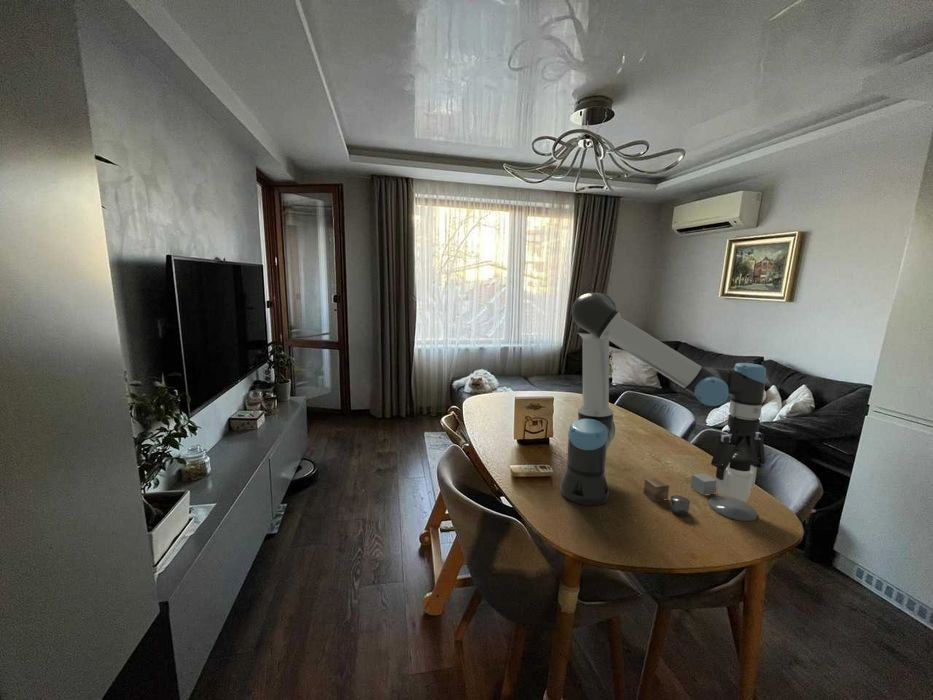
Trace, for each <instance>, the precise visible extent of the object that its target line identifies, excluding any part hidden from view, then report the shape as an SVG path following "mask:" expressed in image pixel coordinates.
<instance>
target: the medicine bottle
mask: <svg viewBox="0 0 933 700" xmlns="http://www.w3.org/2000/svg"><path fill="white" fill-rule="evenodd" d="M750 468H751V460H750V459H749V458H748V457H747V455H746V456H745V455H742V454H739V453H735V454H734V456H733V458H732V459H731V461H730V463H729V464H728V466H727V468H726V470H728V476H727V484H726V491H722V490H720V489H719V488H717V493H718V494H719V495H722V496H724V497H728V498H732V499H736V500H739V501H741V502H743V503H746V502H747V501H748V500H749V498H750V496H751V494H752V489H753V488H752V481H753V474H754V473H753V472H751V471H750Z"/></svg>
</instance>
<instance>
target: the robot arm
mask: <svg viewBox="0 0 933 700" xmlns="http://www.w3.org/2000/svg"><path fill="white" fill-rule="evenodd" d="M571 317H572V320H573V322H574V323H575V324H576V325H577V334H578V335H579V336H580V337H581V339H582V405H581V406H580V407H579V408H578V410H577V416H578V417H577V419H575V420H574V421H573V422H571V424H570V426H569V430H568V436H567V437H568V440H567V441H568V442H567V443H568V444H567V461H566V469H565V472H564V474H563V477H562V479H561V481H560V484H559V485H560V487H559V490H560V493H561V495H562V497H564V498H565V499H567V500H569V501H570V502H573V503H575V504H579V505H583V506H589V507H590V506H599V505H603V504H605V503H607V502H608V500H609V496H610V495H609V493H610V491H609V490H610V489H609V486H608V482H607V478H606V475H605V474H606V473H605V471H606V459H607V458H606V456H607V450H608V449H609V447H610V445H611V442H613V441H612V440H613V439H614V438H615V435H616V426H615V421H614V411H613V409H612V408H610V407H609V405H610V404H609V403H610V401H609V400H610V399H609V398H610V397H609V396H610V391H609V388H610V385H609V384H610V382H609V381H610V375H609V374H610V373H609V372H610V343H612V344H614V345H615V346H617V347H618V348H620V349H622V350H623V351H625V352H626V353H628V354H630V355H631V356H633V357H634V358H636V359H638V360H639V361H640V362H641V363H644V364H645V365H647V366H649V367H650V368H651V369H653V370H655V371H656V372H658V373H659V374H661V375H662V376H664V377H666V378H667V379H669V380H670V381H673V382H674V383H675V384H677V385H678V386H680V387H682V388H683V389H685V390H686V392H687V391H688V392H689V393H691V394H692V395H693V396H694V397H695V398H696V399H697V400H698V401H699V402H701V404H703V405H706V406H708V407H716V406H719V405H722V404H723V403H725V402H726V401H727V400H728V397H729V395H730V401H729V402H730V403H729V408H728V409H729V410H728V413H729V414H728V416H727V417H728V418H727V426H728V428H729V430H728V433H727V434H722V433H719V434H718V442H717V445H716V448H715V450H714V453H713V456H712V458H711V462H710V465H711V466H713V467H715V468H716V473H715V478H716V480H717V481H716V489H718V488H719V489H720V490H722V491H726V484H727V476H728V470H726V468H727V466H728V464H729V463H730V461H731V459H732V458H733V456H734V454H737V453H736V452H739V451H740V449H742V448H743V449H744V452H745V454H746V457H747V458H749V459H750V460H751V468H750V471H751V472H753V473H754V474H753V481H752V489H755V483H756V478H757V476H758V470H759V469H762V467H763V465H765V464H766V457H765V447H764V439H765V434H764V433H761V432H760V431H759V429H760V423H761V419H760V418H761V415H762V407H763V400H764V394H765V388H766V384H767V382H766V380H767V369H766V367H765V366H763V365H761V364H756V363H750V362H737V363H735V365H734V367H733V368H720V367H719V368H718V367H709V366H702V365H700V364H698V363H697V362H695V361H693V360H692V359H690V358H688V357H686V356H685V355H683V354H682V353H680V352H678V351H677V350H675V349H673V348H672V347H670V346H668V344H665V343H663V342H662V341H660V340H659V339H657V338H656V337H654V336H652V335H651V334H649V333H647V332H646V331H645V330H642V329H640V328H639V327H638V326H635V325H634V324H632V323H630V322H629V321H628V320H626V319H624V318H622V316H621V312H619V311H618V310H617V306H616V304H615V301H614V300H613V298H611V296H609V295H608V294H606V293H603V292H587V293H584V294H582V295H580V296H578V297H577V298H576V299H575V301H574V302H573V304H572V306H571Z"/></svg>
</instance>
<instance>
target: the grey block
mask: <svg viewBox="0 0 933 700" xmlns="http://www.w3.org/2000/svg"><path fill="white" fill-rule="evenodd" d="M690 481H691V482H690V489H691V488H693V489H694V490H696V491H697V492H699V493H701V494H702V495H705V494H714V493H716V492H717V487H716V481H717V478H716V479H715V478H714V477H712V476H711V475H709V474H707V473H702V472H701V473H696V474H695V473H693V474H691V480H690ZM693 489H692V490H693ZM694 490H693V491H694ZM696 491H695V492H696ZM697 492H696V493H697ZM699 493H698V494H699ZM702 495H701V496H702ZM714 495H715V494H714Z"/></svg>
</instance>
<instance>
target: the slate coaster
mask: <svg viewBox="0 0 933 700" xmlns="http://www.w3.org/2000/svg"><path fill="white" fill-rule="evenodd" d="M708 505H710V506H709V507H710V508H712V509H711V510H713V511H714V512H715V511H716V512H715V513H717V514H718V513H719V515H720V514H721V515H720V516H722V517H725V518H727V519H731V520H734V521H739V522H752V521H755V520H756V519H757V516H758V515H757V514H758V513H757V511H756V509H754V508H753V507H752V506H751V505H749V504H747V503H746V502H743V501H740V500H737V499H734V498H731V497H728V496H713V497H710V498H709V500H708Z"/></svg>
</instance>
